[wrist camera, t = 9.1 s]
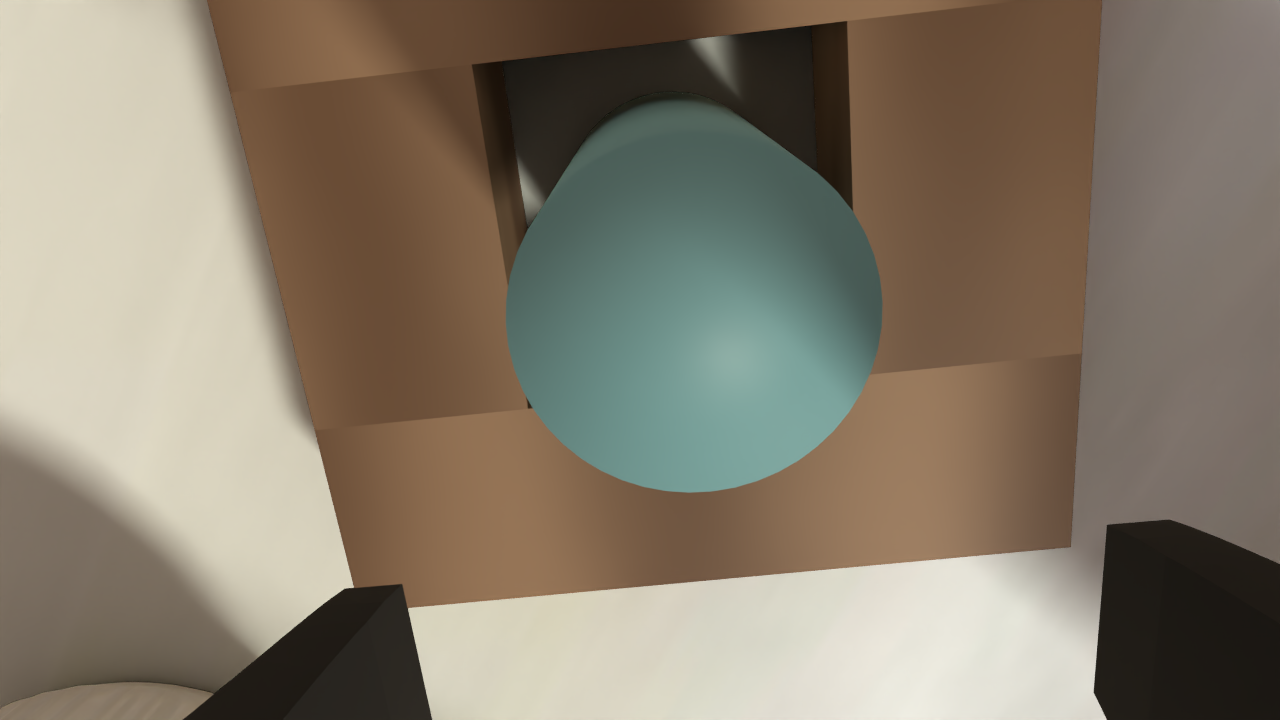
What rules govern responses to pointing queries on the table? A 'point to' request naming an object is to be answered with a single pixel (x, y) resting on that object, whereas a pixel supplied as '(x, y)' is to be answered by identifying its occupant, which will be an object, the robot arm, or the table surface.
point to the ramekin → (109, 703)
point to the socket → (496, 225)
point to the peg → (692, 300)
